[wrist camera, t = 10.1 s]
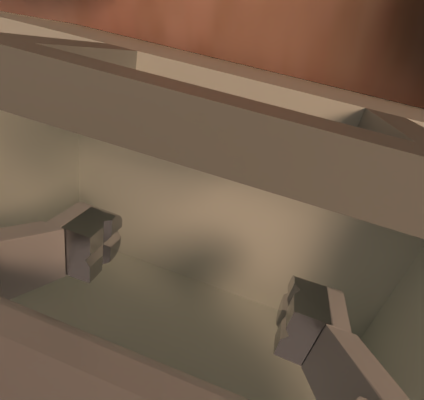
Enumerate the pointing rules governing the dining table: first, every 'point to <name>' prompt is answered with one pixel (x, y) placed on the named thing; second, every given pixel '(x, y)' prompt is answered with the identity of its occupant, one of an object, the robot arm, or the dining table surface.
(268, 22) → the dining table surface
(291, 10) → the dining table surface
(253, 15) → the dining table surface
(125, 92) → the tote
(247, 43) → the dining table surface
